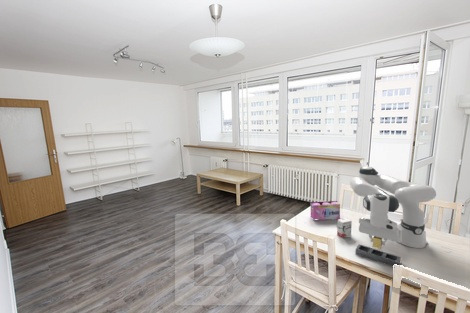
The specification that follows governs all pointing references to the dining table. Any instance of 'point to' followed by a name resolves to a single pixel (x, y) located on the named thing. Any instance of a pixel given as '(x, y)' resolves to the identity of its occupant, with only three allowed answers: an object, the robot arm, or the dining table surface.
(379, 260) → the grey compartment tray
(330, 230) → the dining table surface
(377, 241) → the brushed brass bar
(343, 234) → the ink box
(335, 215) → the gum box
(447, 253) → the dining table surface
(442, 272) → the dining table surface
